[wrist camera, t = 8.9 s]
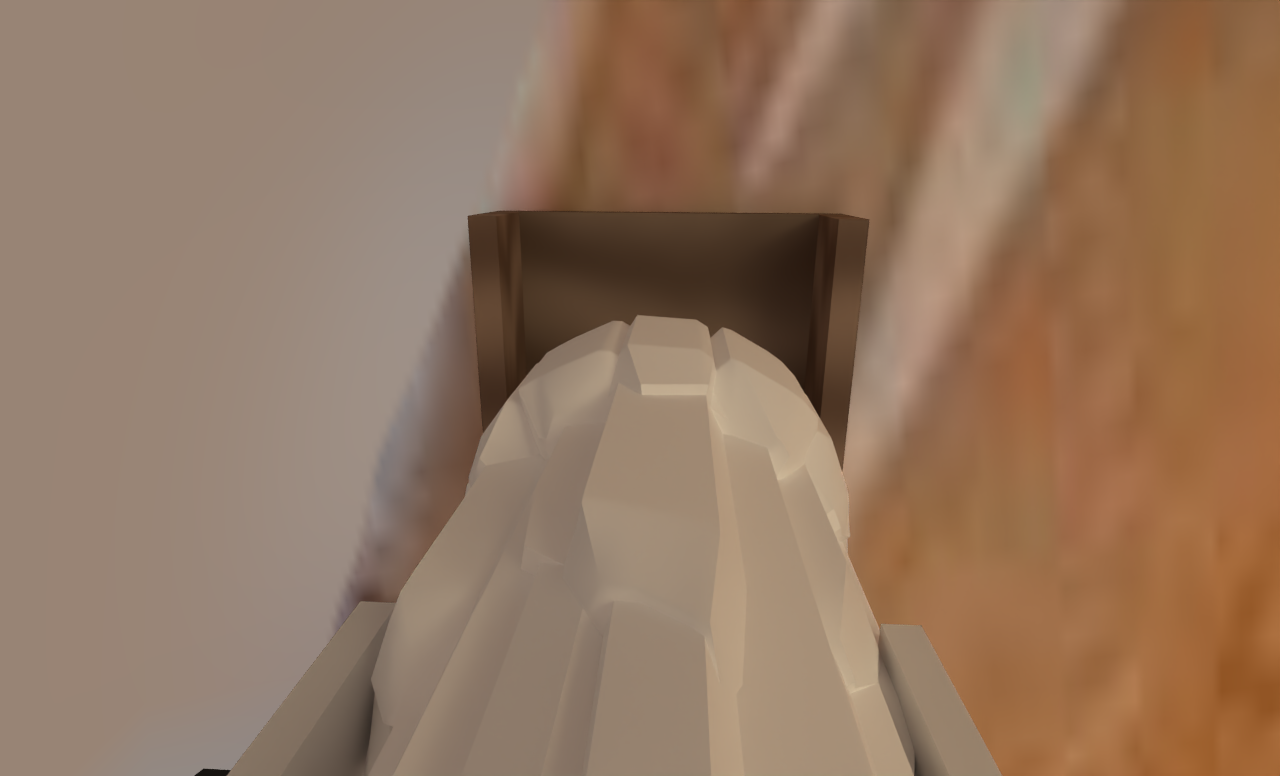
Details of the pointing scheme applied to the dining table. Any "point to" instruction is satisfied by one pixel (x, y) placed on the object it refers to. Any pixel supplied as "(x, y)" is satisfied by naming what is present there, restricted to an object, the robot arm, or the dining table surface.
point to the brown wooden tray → (671, 289)
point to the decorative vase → (642, 582)
